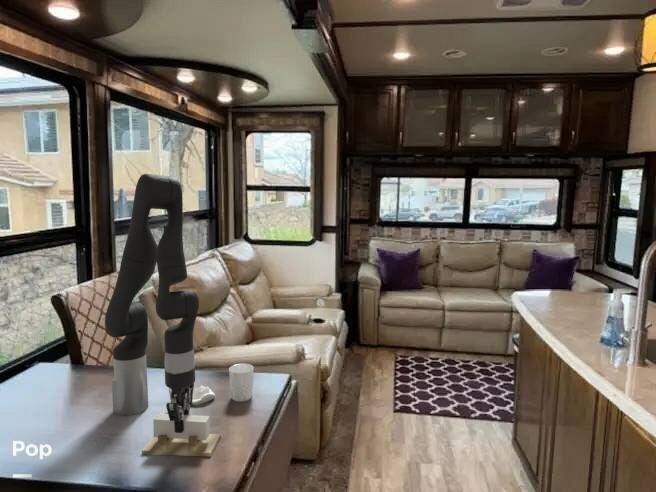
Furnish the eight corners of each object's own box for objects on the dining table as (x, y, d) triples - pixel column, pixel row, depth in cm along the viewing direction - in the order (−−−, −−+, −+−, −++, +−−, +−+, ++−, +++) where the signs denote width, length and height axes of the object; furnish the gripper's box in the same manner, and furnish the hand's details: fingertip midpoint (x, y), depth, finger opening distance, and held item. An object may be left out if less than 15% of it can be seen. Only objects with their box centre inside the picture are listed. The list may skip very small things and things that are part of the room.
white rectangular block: (153, 437, 119) (153, 419, 119) (158, 430, 123) (158, 413, 122) (206, 440, 119) (205, 422, 118) (209, 433, 122) (209, 416, 121)
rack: (142, 454, 117) (141, 437, 116) (156, 435, 126) (156, 419, 125) (210, 456, 116) (210, 440, 115) (220, 437, 125) (220, 422, 124)
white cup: (231, 392, 153) (230, 363, 152) (254, 391, 153) (254, 363, 152) (228, 403, 145) (227, 373, 144) (252, 402, 146) (252, 372, 144)
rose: (210, 393, 142) (179, 393, 142) (210, 407, 143) (180, 406, 143) (218, 380, 152) (189, 380, 152) (218, 393, 153) (190, 392, 153)
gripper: (176, 355, 125) (178, 414, 128) (154, 376, 111) (156, 442, 114) (202, 356, 125) (204, 415, 127) (184, 377, 111) (186, 443, 113)
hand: (182, 428), depth 120 cm, fingers closed on white rectangular block, 3 cm apart
